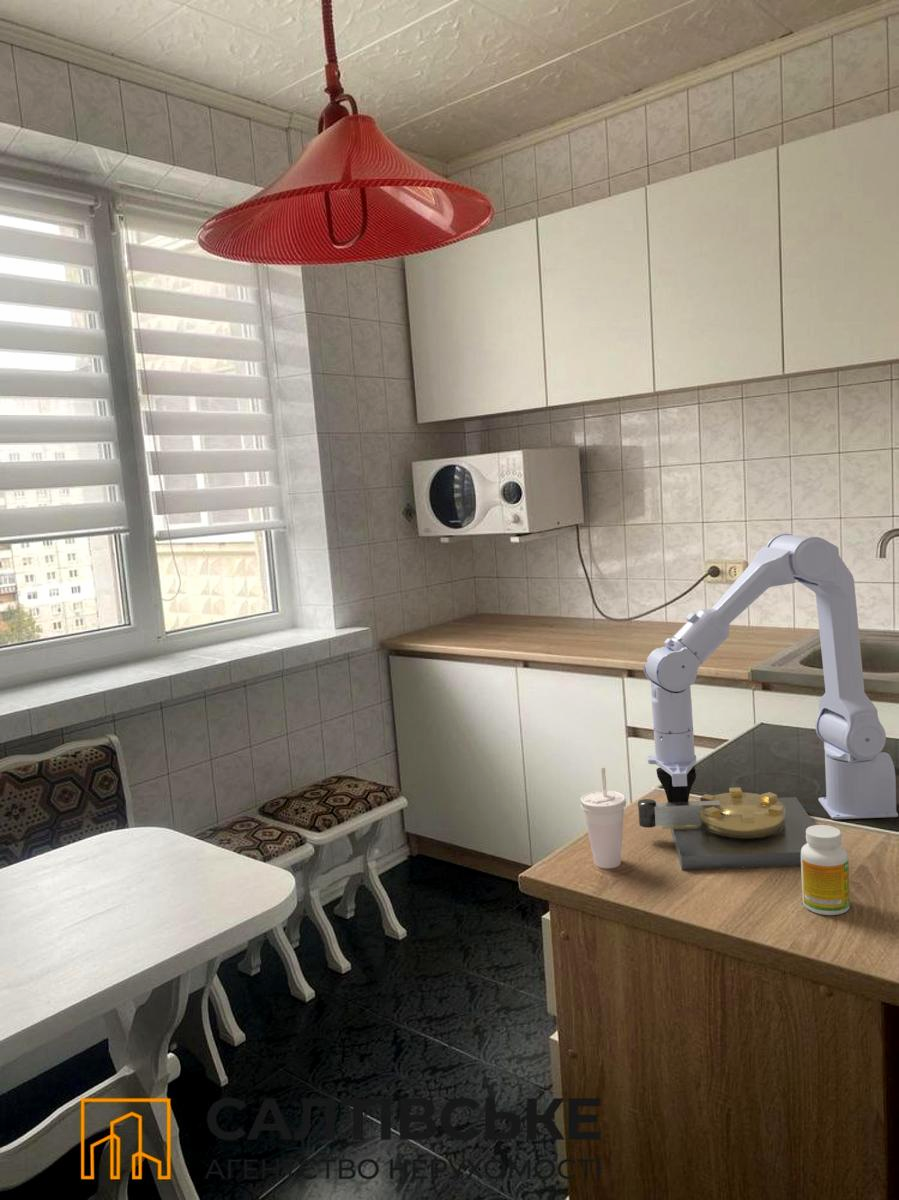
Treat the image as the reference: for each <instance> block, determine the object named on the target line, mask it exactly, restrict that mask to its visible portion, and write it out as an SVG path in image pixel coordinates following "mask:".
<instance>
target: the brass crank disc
mask: <svg viewBox="0 0 899 1200" xmlns="http://www.w3.org/2000/svg"><path fill="white" fill-rule="evenodd" d="M728 789H729V790H728V791H729V792H723V793H717V794H714V795H713V794H707V793H704V794H702V796H701V797H700V800H695V801H694V800H692V802H668V801H663V802H661V801H660V802H656V800H655V799H650V798H649V799H648V798H645V799H641V800H640V799H639V800H638V801H637V806H638V807H637V808H638V810H637V811H638V824H639V827H642V828H654V827H662V826H676V825H702V827H704V828H705V829H706V830H708V831H710V832H712V833H715V834H718V835H721V836H726V837H733V838H760V837H766V836H770V835H773V834H776V833H778V832H780V831H781V830H782V829H784V827H785V825H786V822H785V807H784V805H783V804H782V803H781V802H780V801H778V800H777V798H778V794H776V793H773V792H771V791H769V792H765V793H761V794H759V793H752V792H743V791H742V788H741V787H729V788H728Z"/></svg>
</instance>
